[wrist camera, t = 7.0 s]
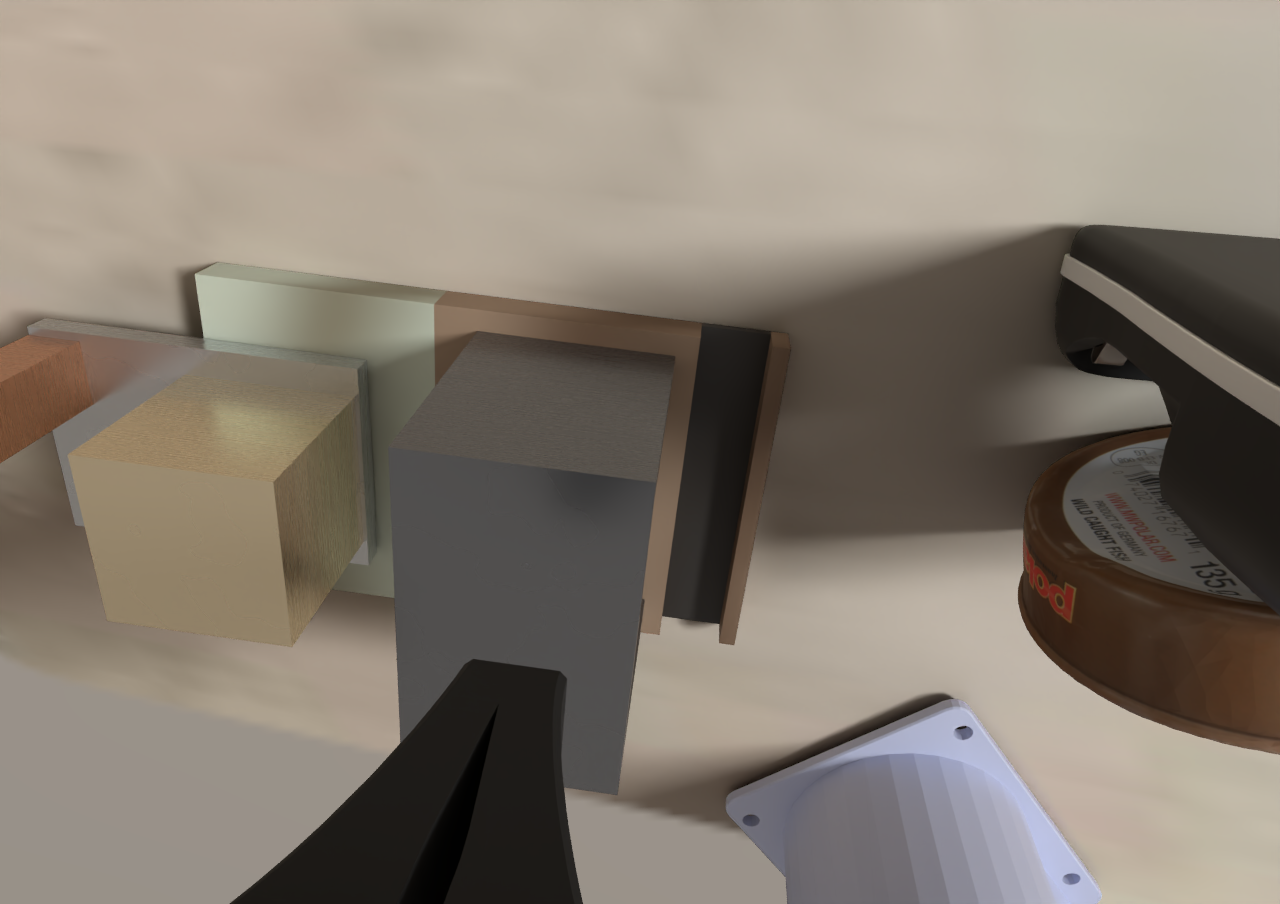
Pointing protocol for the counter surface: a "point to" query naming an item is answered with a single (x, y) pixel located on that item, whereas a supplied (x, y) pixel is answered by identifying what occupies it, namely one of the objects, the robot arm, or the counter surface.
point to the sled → (201, 470)
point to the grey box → (530, 529)
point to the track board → (446, 322)
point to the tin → (1145, 599)
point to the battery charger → (1193, 372)
